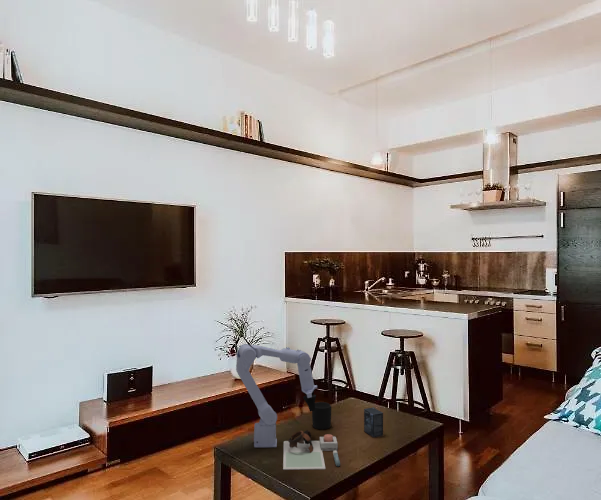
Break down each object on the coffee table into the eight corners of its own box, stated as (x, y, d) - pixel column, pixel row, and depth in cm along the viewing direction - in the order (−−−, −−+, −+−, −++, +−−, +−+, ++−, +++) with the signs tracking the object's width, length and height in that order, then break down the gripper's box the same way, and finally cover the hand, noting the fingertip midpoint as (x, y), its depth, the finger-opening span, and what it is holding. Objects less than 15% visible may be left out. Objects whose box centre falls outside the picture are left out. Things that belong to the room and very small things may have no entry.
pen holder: (335, 425, 214) (334, 404, 215) (325, 431, 207) (325, 409, 207) (318, 421, 219) (318, 400, 220) (308, 427, 212) (308, 406, 212)
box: (363, 431, 206) (363, 408, 206) (374, 429, 208) (374, 407, 209) (372, 437, 199) (372, 414, 199) (383, 436, 201) (383, 412, 201)
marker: (335, 466, 171) (335, 461, 171) (332, 455, 181) (332, 450, 181) (340, 466, 171) (340, 461, 171) (337, 455, 181) (337, 450, 181)
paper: (283, 469, 168) (283, 468, 168) (283, 441, 194) (283, 441, 194) (325, 469, 169) (325, 468, 169) (320, 441, 195) (320, 440, 195)
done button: (324, 445, 187) (324, 437, 187) (323, 441, 191) (323, 434, 191) (333, 445, 187) (333, 437, 187) (332, 441, 191) (332, 434, 191)
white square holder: (320, 450, 185) (320, 443, 186) (319, 443, 192) (319, 436, 193) (337, 450, 186) (337, 443, 186) (335, 443, 193) (335, 436, 193)
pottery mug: (310, 457, 180) (299, 439, 180) (292, 462, 184) (282, 445, 184) (321, 438, 190) (311, 422, 190) (304, 444, 195) (294, 428, 195)
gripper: (316, 381, 191) (322, 412, 192) (314, 371, 206) (319, 399, 206) (299, 384, 191) (306, 415, 192) (299, 374, 206) (304, 402, 206)
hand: (312, 407), depth 199 cm, fingers open, 7 cm apart
